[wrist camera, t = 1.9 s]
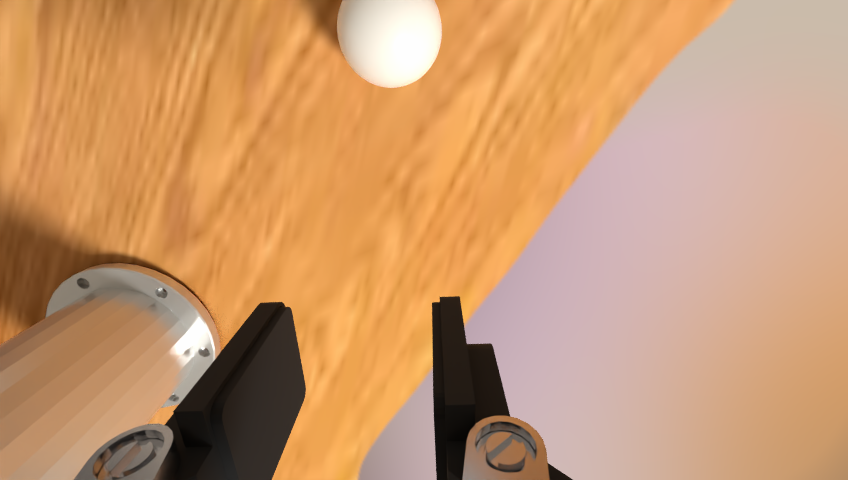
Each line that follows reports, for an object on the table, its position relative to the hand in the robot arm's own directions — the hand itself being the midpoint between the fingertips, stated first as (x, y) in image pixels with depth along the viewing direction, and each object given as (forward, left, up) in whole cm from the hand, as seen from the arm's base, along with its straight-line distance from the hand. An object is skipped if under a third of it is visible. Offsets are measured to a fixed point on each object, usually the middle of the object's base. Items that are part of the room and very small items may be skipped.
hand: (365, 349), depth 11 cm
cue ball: (+7, +6, -14) cm, 17 cm away
